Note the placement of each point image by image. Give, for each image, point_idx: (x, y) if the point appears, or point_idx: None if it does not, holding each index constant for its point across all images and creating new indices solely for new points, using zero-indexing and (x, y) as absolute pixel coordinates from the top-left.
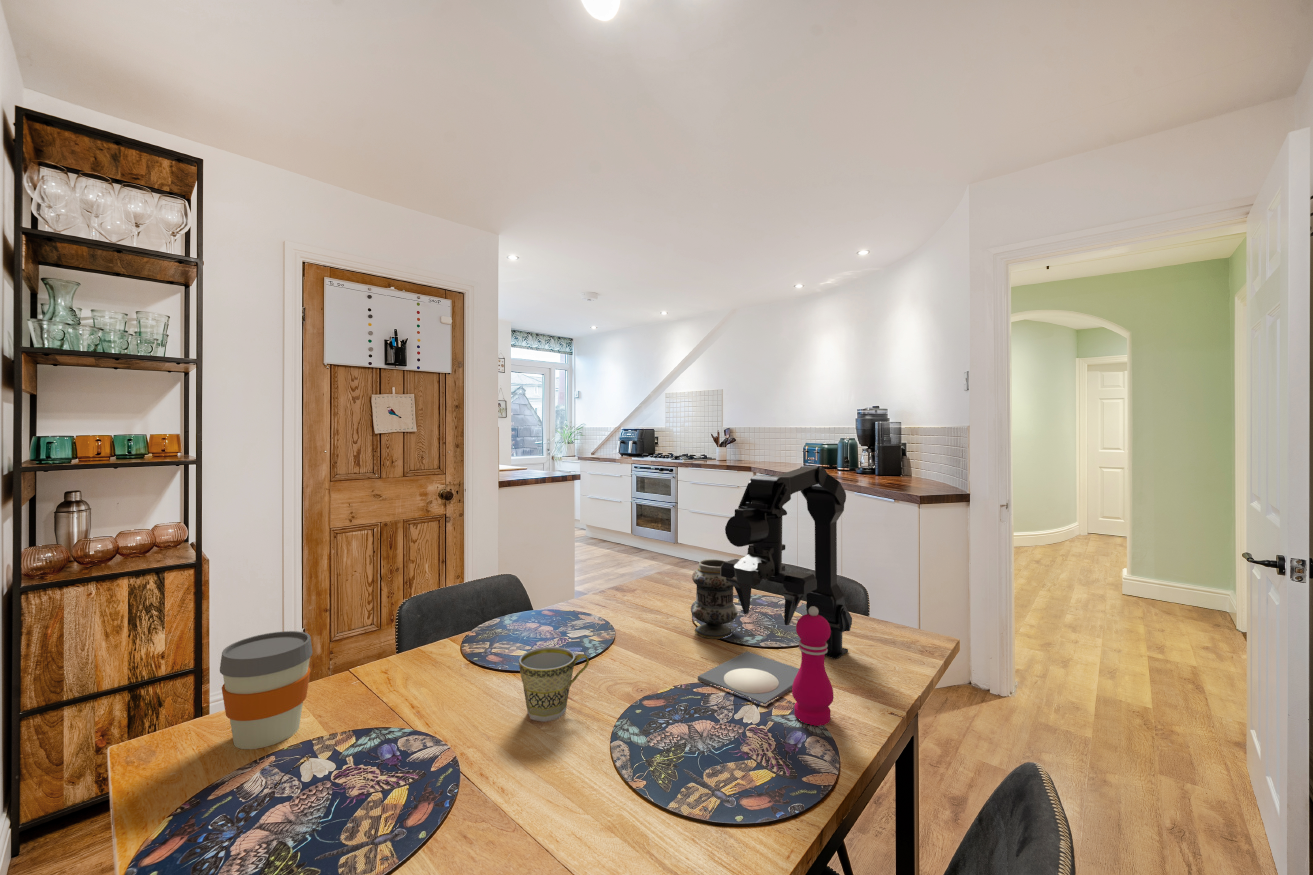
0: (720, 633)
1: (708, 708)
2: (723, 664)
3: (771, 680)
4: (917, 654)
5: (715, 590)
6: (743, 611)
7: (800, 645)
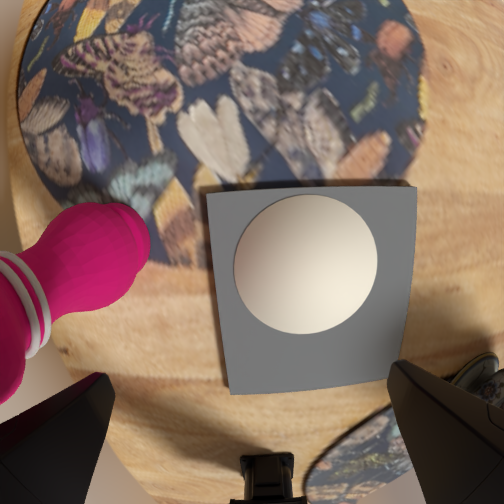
0: (460, 384)
1: (300, 85)
2: (406, 287)
3: (268, 306)
4: (176, 498)
5: None
6: (411, 363)
7: (15, 272)
